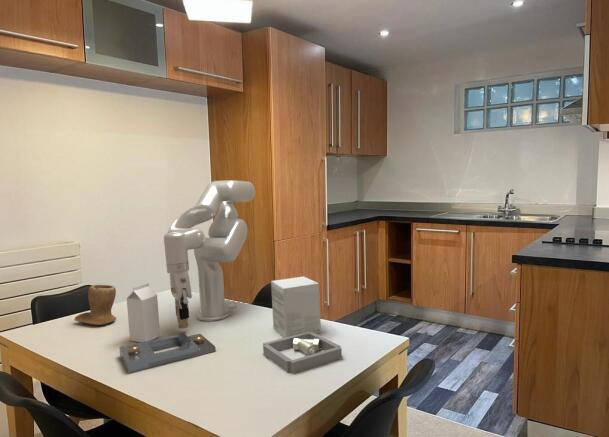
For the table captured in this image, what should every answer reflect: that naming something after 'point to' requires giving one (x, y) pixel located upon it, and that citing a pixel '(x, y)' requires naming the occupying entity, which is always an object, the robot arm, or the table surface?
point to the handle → (183, 322)
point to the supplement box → (295, 306)
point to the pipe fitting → (306, 345)
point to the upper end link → (142, 353)
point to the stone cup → (99, 305)
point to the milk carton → (143, 314)
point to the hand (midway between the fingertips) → (182, 316)
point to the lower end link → (198, 339)
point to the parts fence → (296, 365)
